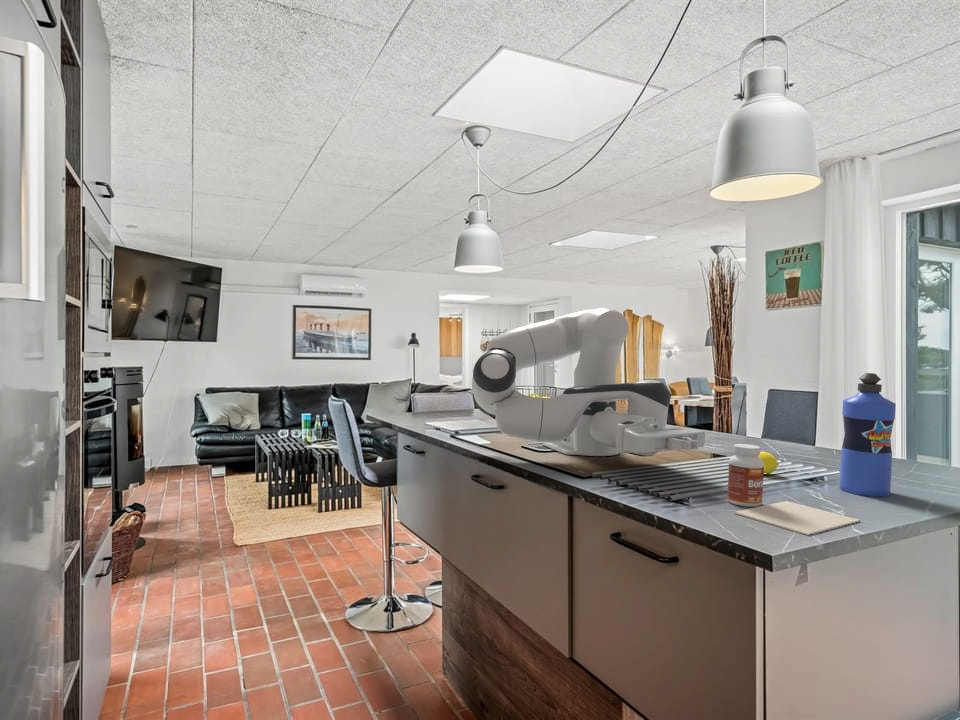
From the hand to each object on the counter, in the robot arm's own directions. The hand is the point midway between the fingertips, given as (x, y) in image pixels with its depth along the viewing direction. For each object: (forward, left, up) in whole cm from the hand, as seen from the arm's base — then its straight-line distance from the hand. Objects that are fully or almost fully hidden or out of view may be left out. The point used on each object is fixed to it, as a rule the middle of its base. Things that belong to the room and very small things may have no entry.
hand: (693, 445), depth 125 cm
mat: (+22, 0, -9) cm, 24 cm away
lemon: (-2, +27, -9) cm, 29 cm away
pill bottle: (+12, 0, -9) cm, 15 cm away
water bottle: (+18, +32, -9) cm, 38 cm away
